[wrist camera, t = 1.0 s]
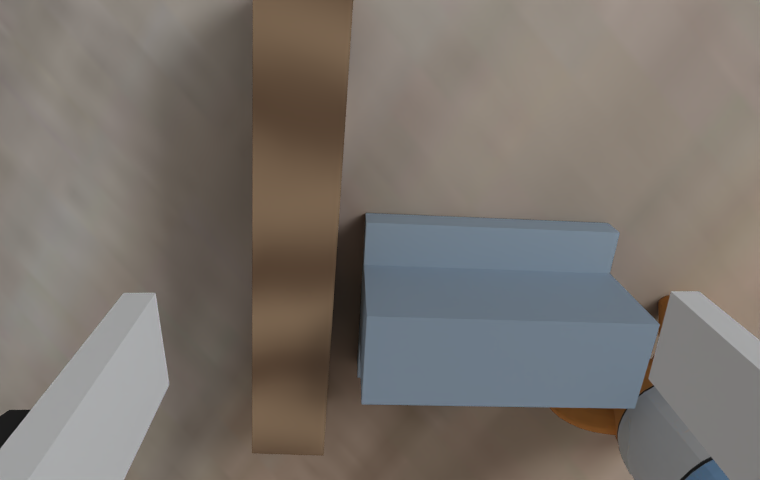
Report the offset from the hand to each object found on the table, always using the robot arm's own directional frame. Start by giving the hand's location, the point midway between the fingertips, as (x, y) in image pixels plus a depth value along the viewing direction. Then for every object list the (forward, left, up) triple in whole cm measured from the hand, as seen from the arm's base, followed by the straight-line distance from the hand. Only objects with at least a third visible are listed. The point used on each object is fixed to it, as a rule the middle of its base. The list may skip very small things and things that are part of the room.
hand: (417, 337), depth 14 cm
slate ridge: (+8, +6, -17) cm, 20 cm away
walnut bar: (+4, -4, -17) cm, 18 cm away
